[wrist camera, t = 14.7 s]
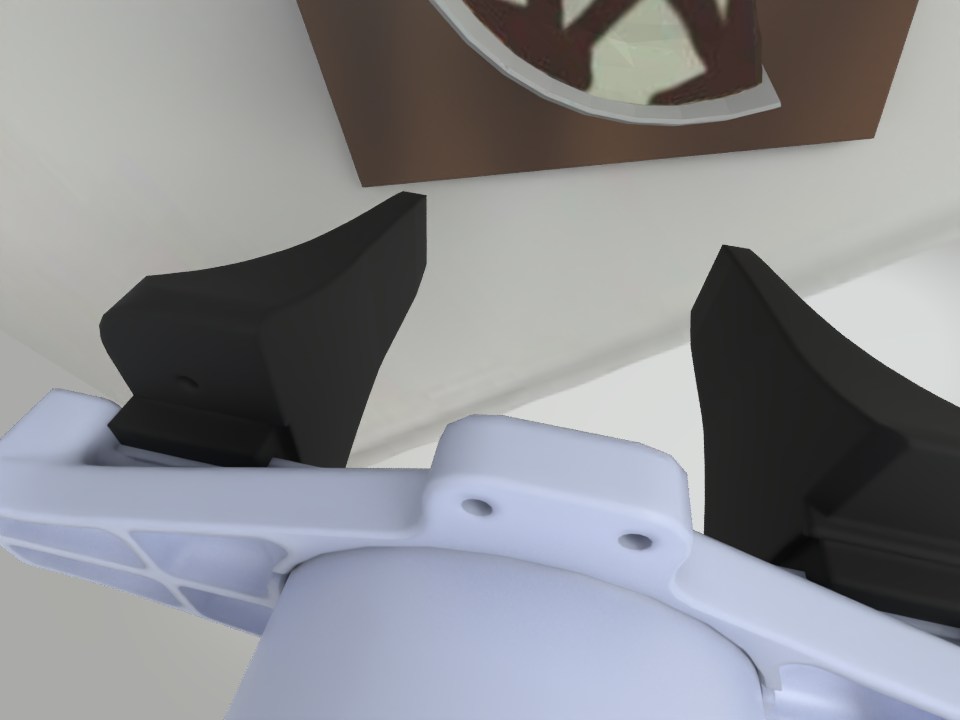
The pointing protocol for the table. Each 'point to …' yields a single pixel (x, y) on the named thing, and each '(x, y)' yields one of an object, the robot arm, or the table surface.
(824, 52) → the walnut board
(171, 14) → the table surface
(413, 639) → the robot arm
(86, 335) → the table surface
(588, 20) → the food container
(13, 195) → the table surface
